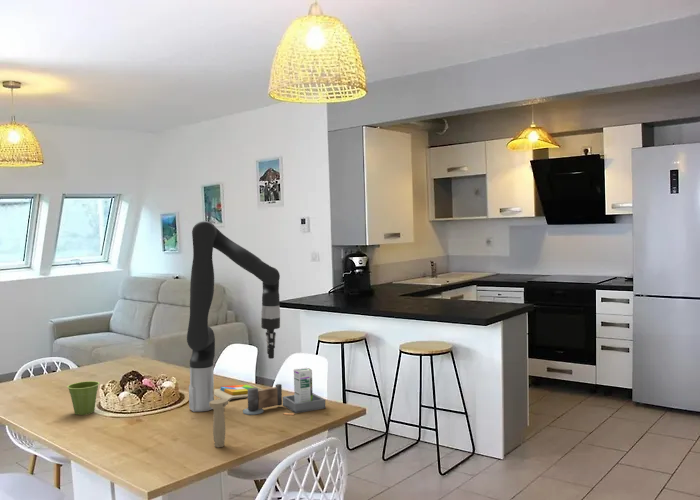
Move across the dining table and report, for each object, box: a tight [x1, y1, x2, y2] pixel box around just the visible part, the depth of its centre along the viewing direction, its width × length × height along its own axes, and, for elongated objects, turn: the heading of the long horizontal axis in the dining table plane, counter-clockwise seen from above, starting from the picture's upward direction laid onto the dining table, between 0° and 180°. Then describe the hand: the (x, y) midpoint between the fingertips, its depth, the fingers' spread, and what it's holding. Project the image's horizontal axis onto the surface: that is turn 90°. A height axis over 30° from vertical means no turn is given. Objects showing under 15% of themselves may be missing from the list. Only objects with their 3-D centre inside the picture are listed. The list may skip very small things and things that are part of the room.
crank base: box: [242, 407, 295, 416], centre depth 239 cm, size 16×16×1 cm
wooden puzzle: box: [214, 383, 264, 402], centre depth 268 cm, size 18×19×4 cm
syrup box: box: [293, 367, 314, 403], centre depth 247 cm, size 6×6×14 cm
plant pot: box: [66, 380, 101, 416], centre depth 242 cm, size 12×12×11 cm
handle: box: [209, 398, 229, 448], centre depth 202 cm, size 5×6×15 cm
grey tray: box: [282, 392, 326, 414], centre depth 247 cm, size 13×13×4 cm
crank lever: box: [247, 383, 283, 411], centre depth 244 cm, size 14×4×8 cm, turn 123°
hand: (270, 356), depth 249 cm, fingers open, 8 cm apart
